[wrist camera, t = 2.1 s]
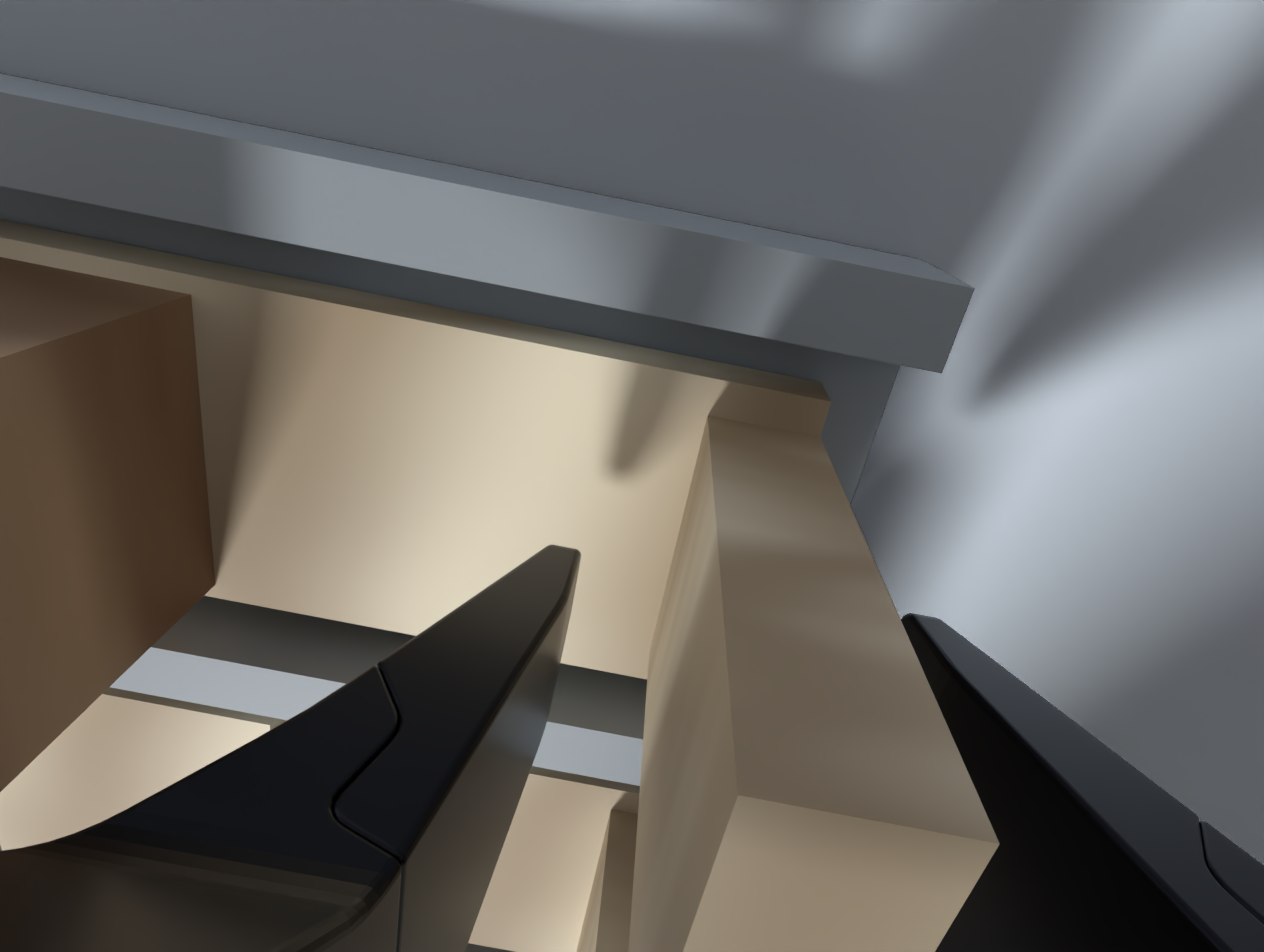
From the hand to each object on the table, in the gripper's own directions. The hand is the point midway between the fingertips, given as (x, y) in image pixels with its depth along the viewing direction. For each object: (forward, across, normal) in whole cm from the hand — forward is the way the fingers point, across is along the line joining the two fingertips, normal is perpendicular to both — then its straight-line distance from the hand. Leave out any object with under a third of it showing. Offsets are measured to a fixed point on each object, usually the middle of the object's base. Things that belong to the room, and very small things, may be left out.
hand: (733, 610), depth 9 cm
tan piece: (+3, +6, 0) cm, 6 cm away
